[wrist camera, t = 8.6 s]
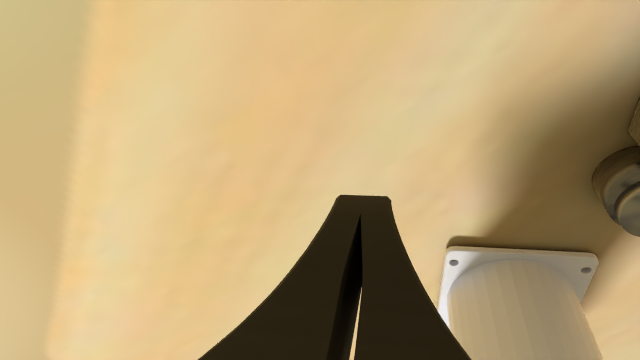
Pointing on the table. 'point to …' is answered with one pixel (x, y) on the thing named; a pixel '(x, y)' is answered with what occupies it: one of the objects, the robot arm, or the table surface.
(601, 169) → the tongs base
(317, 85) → the table surface
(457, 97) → the table surface
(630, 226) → the bar
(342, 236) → the robot arm
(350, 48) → the table surface
